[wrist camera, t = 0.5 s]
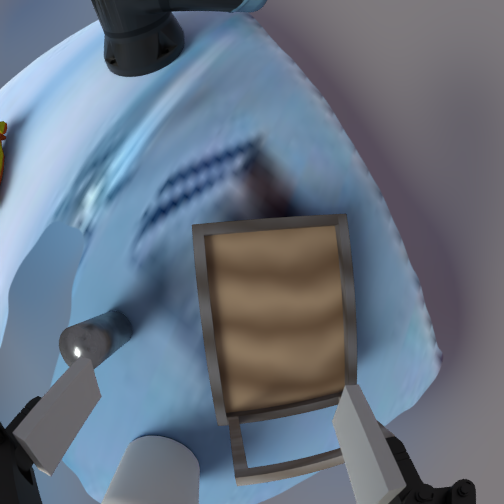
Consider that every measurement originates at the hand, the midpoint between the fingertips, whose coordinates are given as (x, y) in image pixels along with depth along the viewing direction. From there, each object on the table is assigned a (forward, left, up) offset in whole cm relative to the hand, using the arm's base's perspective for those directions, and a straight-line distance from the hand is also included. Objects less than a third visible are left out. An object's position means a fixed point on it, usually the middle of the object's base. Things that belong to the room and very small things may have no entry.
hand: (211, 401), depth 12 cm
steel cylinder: (+1, -14, -24) cm, 28 cm away
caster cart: (+1, +8, -24) cm, 25 cm away
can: (+25, -12, -24) cm, 37 cm away
